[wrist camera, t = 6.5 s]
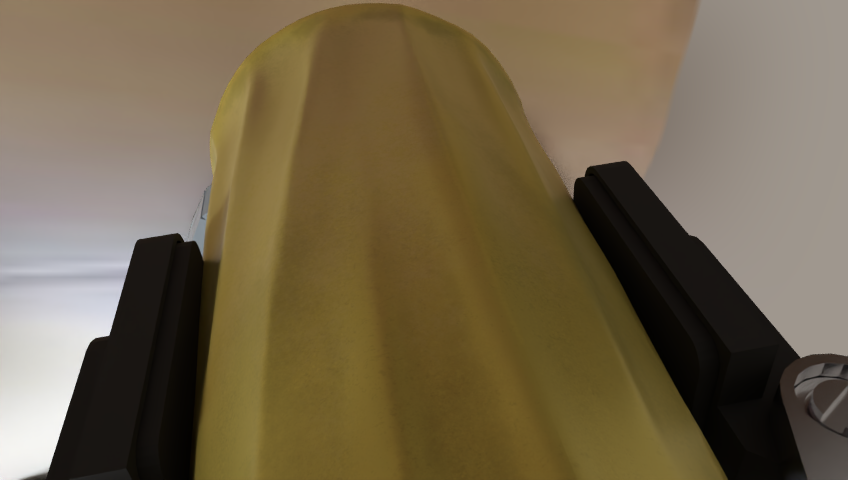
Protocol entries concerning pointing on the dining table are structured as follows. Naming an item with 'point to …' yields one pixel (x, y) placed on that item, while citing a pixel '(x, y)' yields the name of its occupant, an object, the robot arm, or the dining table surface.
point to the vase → (411, 278)
